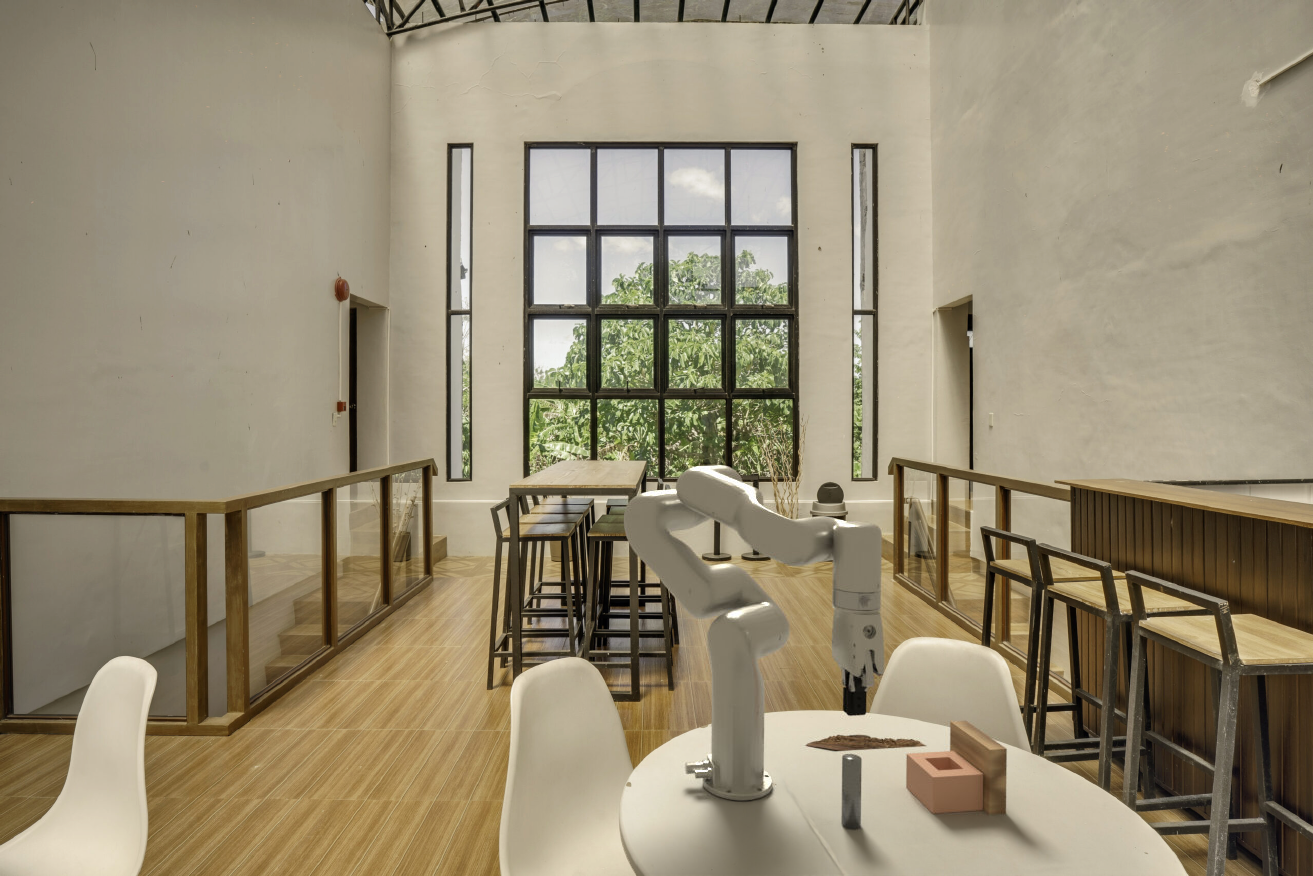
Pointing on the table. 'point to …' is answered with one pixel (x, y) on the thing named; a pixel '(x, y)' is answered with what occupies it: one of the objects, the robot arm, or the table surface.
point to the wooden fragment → (862, 743)
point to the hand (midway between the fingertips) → (854, 713)
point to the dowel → (851, 791)
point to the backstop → (983, 762)
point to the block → (944, 782)
